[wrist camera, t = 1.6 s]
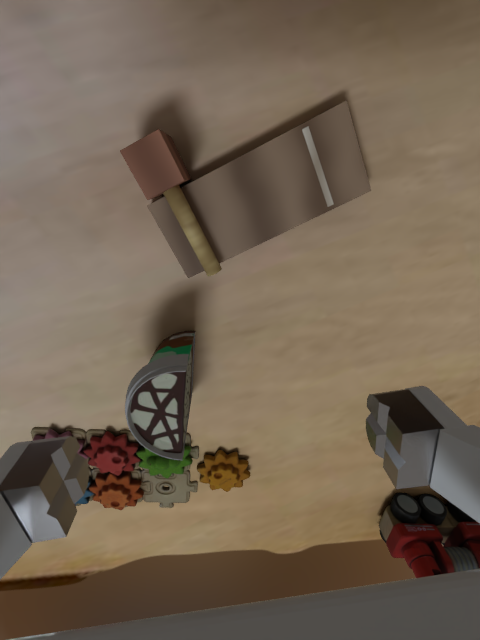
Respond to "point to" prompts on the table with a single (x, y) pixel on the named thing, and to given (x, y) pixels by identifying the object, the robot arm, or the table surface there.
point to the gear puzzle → (145, 469)
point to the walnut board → (270, 189)
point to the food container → (163, 397)
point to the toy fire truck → (430, 535)
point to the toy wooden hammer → (168, 187)
